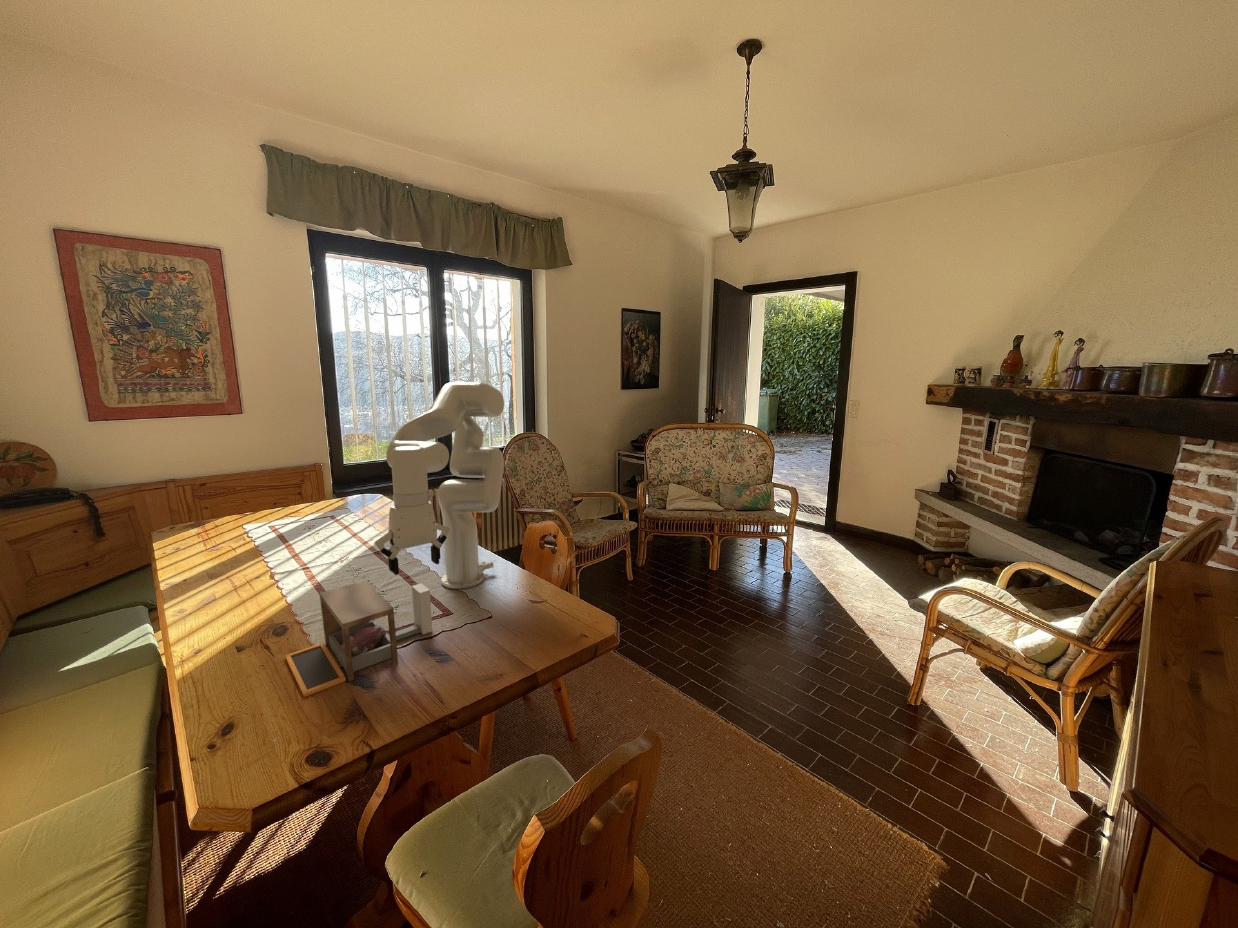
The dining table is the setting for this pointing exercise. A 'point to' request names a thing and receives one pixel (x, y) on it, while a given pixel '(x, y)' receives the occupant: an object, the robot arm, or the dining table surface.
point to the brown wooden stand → (355, 615)
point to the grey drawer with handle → (380, 654)
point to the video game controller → (365, 639)
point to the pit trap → (314, 669)
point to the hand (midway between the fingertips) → (415, 567)
